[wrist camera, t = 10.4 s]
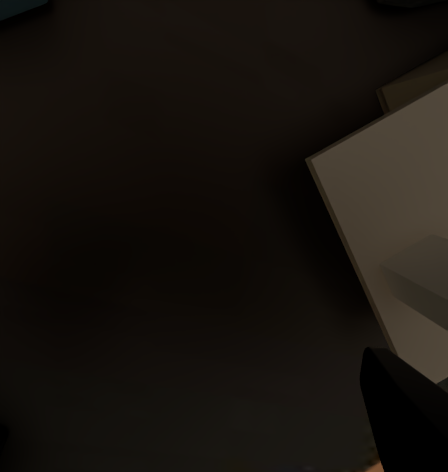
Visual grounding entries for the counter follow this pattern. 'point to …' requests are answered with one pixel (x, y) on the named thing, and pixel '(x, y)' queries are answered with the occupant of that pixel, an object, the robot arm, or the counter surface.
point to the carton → (413, 83)
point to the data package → (17, 7)
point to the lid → (397, 222)
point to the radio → (408, 2)
